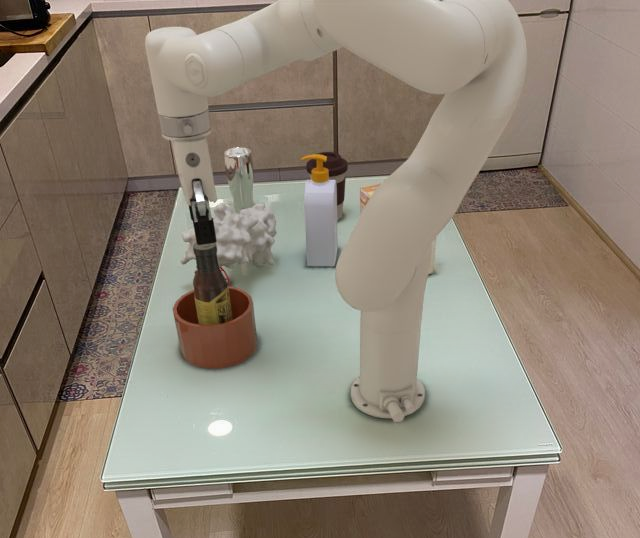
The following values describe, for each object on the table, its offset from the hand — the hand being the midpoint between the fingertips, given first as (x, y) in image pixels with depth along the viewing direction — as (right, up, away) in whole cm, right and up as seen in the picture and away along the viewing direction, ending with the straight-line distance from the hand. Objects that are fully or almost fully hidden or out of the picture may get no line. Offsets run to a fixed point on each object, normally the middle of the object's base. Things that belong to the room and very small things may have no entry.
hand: (203, 230), depth 112 cm
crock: (0, -17, +16) cm, 23 cm away
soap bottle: (+20, +6, +41) cm, 46 cm away
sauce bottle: (0, -17, +15) cm, 23 cm away
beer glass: (0, +23, +62) cm, 66 cm away
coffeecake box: (+36, +1, +35) cm, 50 cm away
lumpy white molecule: (0, 0, +36) cm, 36 cm away
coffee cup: (+22, +20, +58) cm, 65 cm away
